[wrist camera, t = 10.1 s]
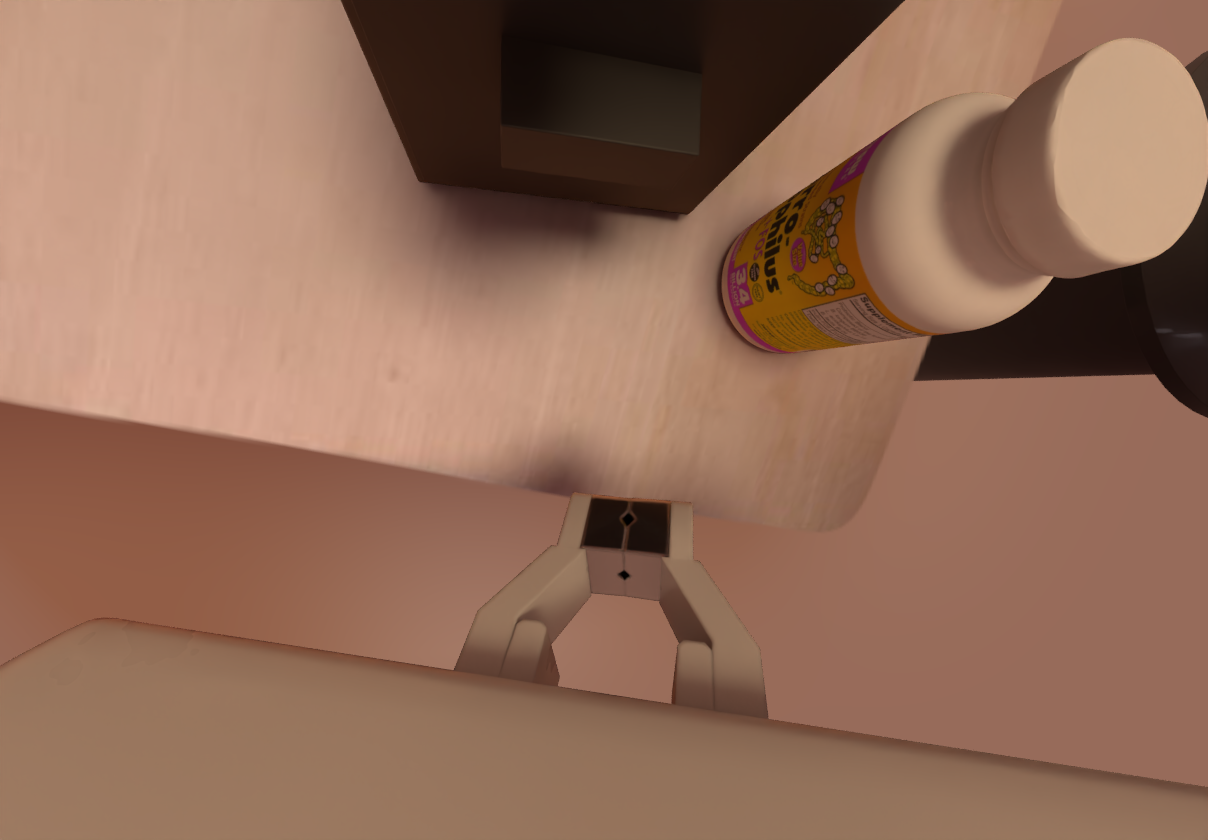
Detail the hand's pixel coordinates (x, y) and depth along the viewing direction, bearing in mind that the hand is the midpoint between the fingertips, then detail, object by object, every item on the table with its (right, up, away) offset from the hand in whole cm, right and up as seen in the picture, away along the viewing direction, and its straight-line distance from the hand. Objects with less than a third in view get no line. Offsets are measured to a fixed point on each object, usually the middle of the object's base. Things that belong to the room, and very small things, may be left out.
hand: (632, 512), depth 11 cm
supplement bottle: (+8, +9, +11) cm, 16 cm away
